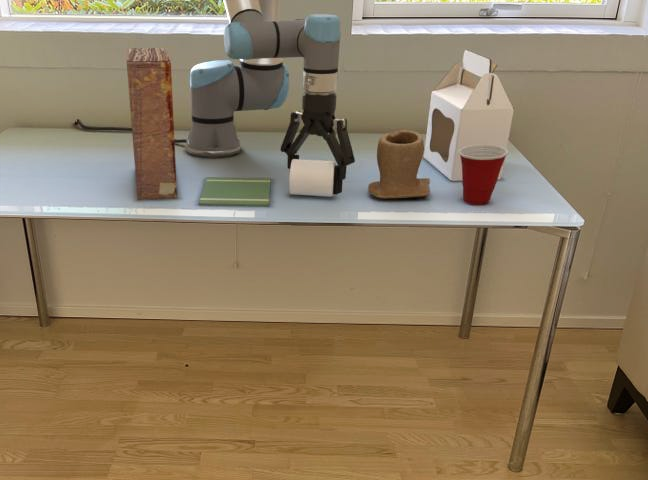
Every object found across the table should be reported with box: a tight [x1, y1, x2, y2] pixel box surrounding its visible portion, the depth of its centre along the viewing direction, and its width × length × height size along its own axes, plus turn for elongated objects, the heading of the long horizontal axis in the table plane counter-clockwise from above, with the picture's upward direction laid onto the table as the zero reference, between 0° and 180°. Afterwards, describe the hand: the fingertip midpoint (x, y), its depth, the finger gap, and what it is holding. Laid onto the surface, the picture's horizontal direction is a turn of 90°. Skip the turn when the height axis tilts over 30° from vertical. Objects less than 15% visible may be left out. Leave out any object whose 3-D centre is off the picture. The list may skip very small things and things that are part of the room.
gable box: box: [423, 49, 515, 182], centre depth 184 cm, size 22×13×28 cm, turn 7°
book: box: [126, 44, 178, 201], centre depth 171 cm, size 25×9×30 cm, turn 9°
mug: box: [288, 158, 337, 197], centre depth 170 cm, size 12×10×8 cm
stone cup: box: [367, 129, 431, 199], centre depth 167 cm, size 15×12×15 cm
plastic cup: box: [458, 145, 509, 206], centre depth 165 cm, size 11×11×12 cm
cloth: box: [198, 176, 272, 207], centre depth 173 cm, size 16×20×1 cm
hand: (315, 188), depth 171 cm, fingers closed on mug, 12 cm apart
